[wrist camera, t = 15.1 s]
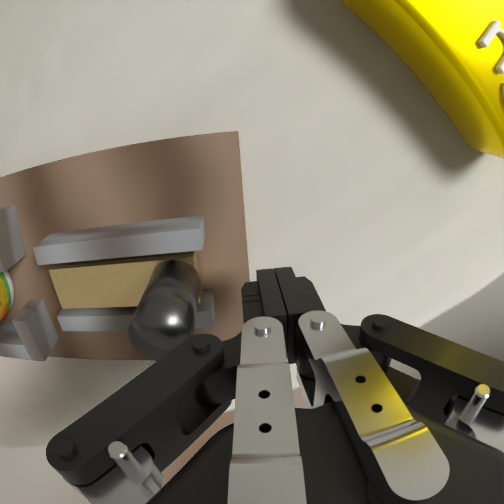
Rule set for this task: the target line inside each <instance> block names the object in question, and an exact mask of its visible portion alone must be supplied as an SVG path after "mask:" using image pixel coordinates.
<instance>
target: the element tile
mask: <svg viewBox="0 0 504 504" xmlns="http://www.w3.org/2000/svg"><path fill="white" fill-rule="evenodd" d="M340 1H341V2H342V3H343V4H344V5H345V6H346V7H347V8H349V9H350V10H351V11H352V12H353V13H355V14H356V15H357V16H358V17H359V18H360V19H361V20H362V21H364V22H365V23H366V24H367V25H368V26H369V27H370V28H371V29H372V30H373V31H374V32H375V33H376V34H377V35H379V36H380V37H381V38H382V39H383V40H384V41H385V42H386V43H387V44H388V45H389V46H390V47H391V48H392V50H393V51H394V52H395V53H396V54H397V55H398V56H399V57H400V58H401V59H402V60H403V61H404V62H405V63H406V64H407V66H408V67H409V68H410V69H411V70H412V71H413V72H414V74H415V75H416V76H417V77H418V78H419V79H420V81H421V82H422V83H423V84H424V85H425V87H426V88H427V89H428V90H429V92H430V93H431V94H432V95H433V97H434V98H435V99H436V100H437V102H438V103H439V104H440V106H441V107H442V108H443V110H444V111H445V112H446V114H447V115H448V116H449V118H450V119H451V121H452V122H453V124H454V125H455V126H456V128H457V129H458V131H459V132H460V134H461V135H462V137H463V138H464V140H465V141H466V142H467V143H468V144H469V146H470V147H472V148H473V149H475V150H476V151H479V152H483V153H487V154H491V155H495V156H498V157H502V158H504V0H340Z"/></svg>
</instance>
